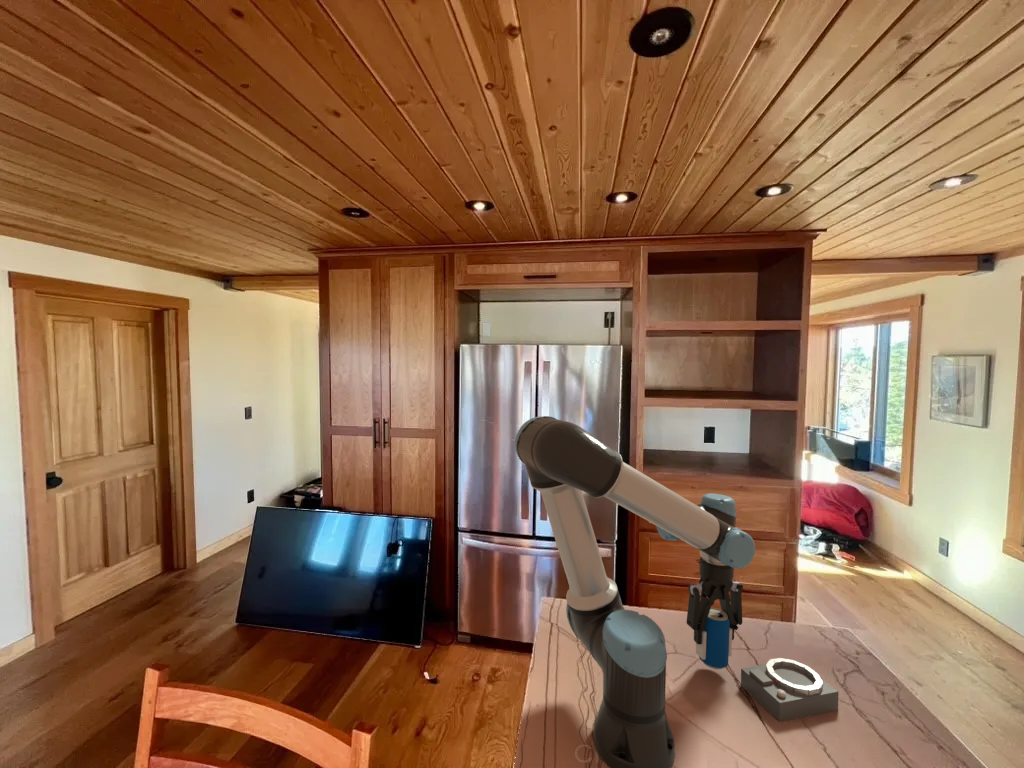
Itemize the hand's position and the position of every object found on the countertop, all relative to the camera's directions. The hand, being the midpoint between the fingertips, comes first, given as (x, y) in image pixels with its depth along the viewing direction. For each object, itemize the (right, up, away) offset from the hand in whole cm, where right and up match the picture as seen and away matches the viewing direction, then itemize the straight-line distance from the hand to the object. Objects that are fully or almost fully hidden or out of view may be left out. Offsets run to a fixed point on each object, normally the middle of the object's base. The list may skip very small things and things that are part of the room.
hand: (713, 654), depth 106 cm
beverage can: (0, -2, 0) cm, 2 cm away
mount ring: (+14, -1, -8) cm, 16 cm away
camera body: (+13, -5, -8) cm, 16 cm away
